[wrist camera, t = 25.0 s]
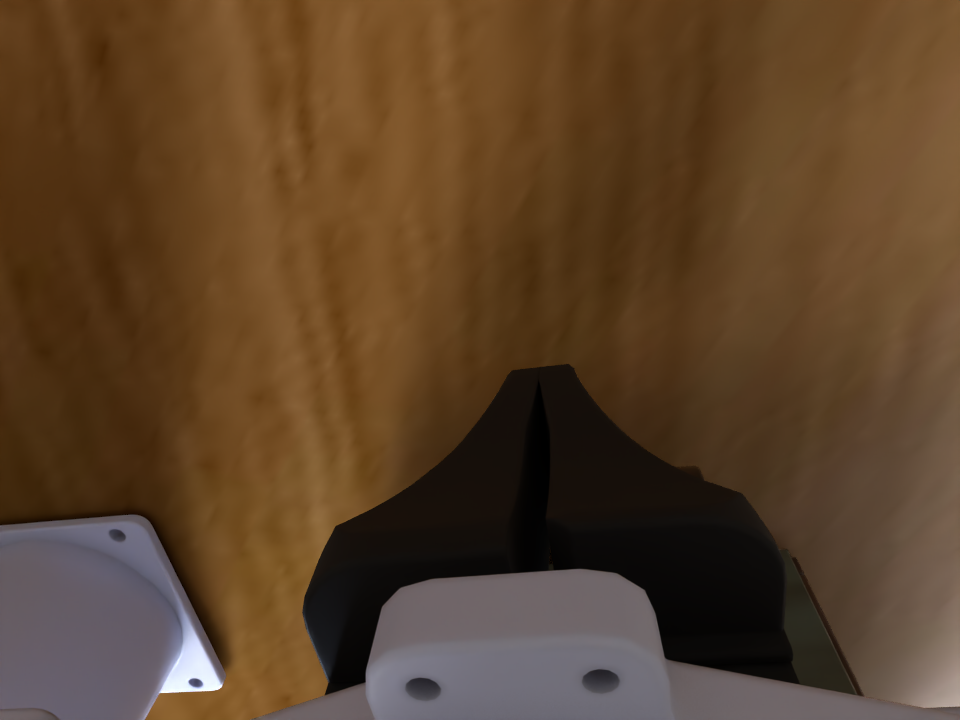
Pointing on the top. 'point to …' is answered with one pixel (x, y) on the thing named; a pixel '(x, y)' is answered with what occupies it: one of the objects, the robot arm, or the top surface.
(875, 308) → the top surface
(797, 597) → the drawer
